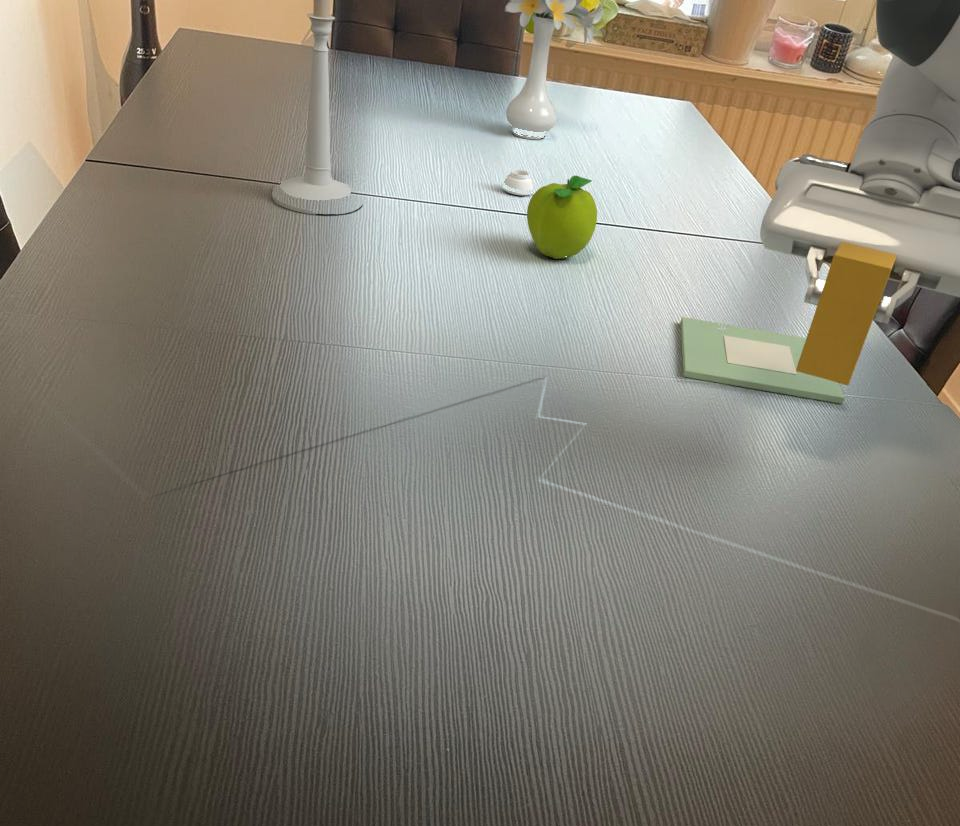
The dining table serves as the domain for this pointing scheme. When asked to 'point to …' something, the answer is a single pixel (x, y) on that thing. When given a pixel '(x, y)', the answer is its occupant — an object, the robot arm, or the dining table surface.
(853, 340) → the yellow box
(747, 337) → the mat
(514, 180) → the white jar
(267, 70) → the dining table surface
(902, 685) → the dining table surface
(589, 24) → the flower vase
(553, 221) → the fruit
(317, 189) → the candlestick
